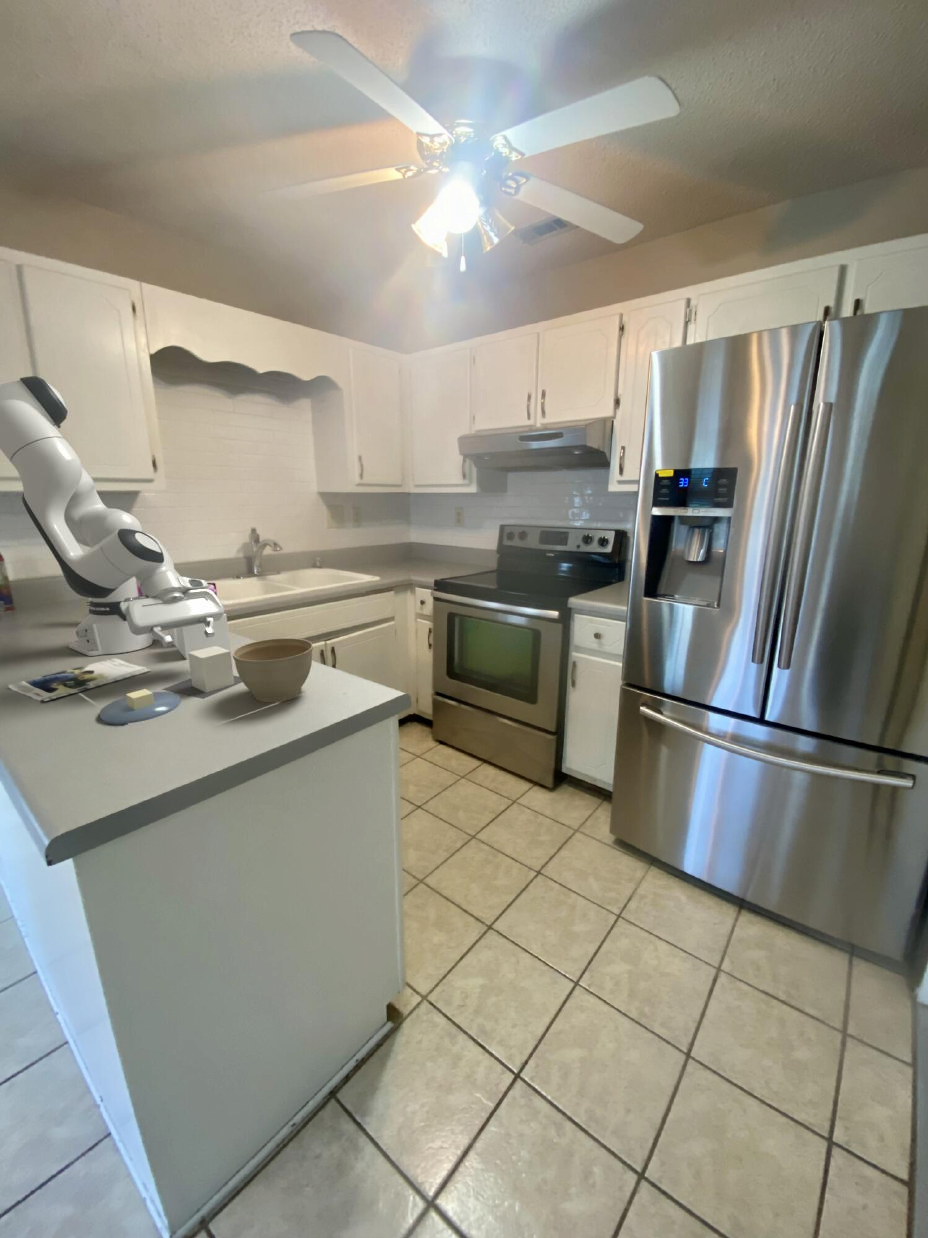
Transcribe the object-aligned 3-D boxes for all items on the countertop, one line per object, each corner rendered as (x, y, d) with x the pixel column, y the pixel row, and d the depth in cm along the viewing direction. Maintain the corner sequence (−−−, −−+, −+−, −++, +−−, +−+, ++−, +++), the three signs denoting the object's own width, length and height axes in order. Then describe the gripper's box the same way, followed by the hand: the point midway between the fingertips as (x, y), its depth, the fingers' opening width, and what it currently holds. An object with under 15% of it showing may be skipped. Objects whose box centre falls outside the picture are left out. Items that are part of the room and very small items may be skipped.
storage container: (169, 639, 154) (164, 604, 151) (208, 633, 161) (204, 599, 158) (187, 660, 135) (181, 620, 132) (230, 652, 142) (226, 614, 139)
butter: (127, 705, 104) (125, 694, 103) (147, 700, 106) (145, 688, 106) (135, 710, 101) (133, 698, 101) (154, 704, 104) (152, 693, 104)
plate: (84, 717, 101) (83, 712, 100) (150, 692, 113) (150, 688, 113) (131, 730, 95) (130, 725, 95) (196, 702, 108) (195, 698, 107)
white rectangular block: (192, 686, 116) (188, 652, 114) (219, 678, 121) (216, 645, 119) (206, 692, 112) (202, 658, 110) (234, 684, 117) (230, 651, 115)
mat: (161, 691, 114) (161, 689, 114) (210, 672, 125) (210, 671, 125) (203, 700, 109) (203, 698, 109) (250, 680, 120) (250, 678, 120)
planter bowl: (266, 679, 121) (262, 635, 118) (328, 685, 118) (325, 640, 115) (221, 706, 106) (215, 656, 103) (290, 714, 102) (286, 662, 100)
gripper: (118, 591, 110) (143, 642, 107) (212, 579, 126) (236, 623, 123) (114, 608, 114) (137, 658, 111) (205, 595, 130) (229, 638, 126)
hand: (190, 640), depth 117 cm, fingers open, 8 cm apart
